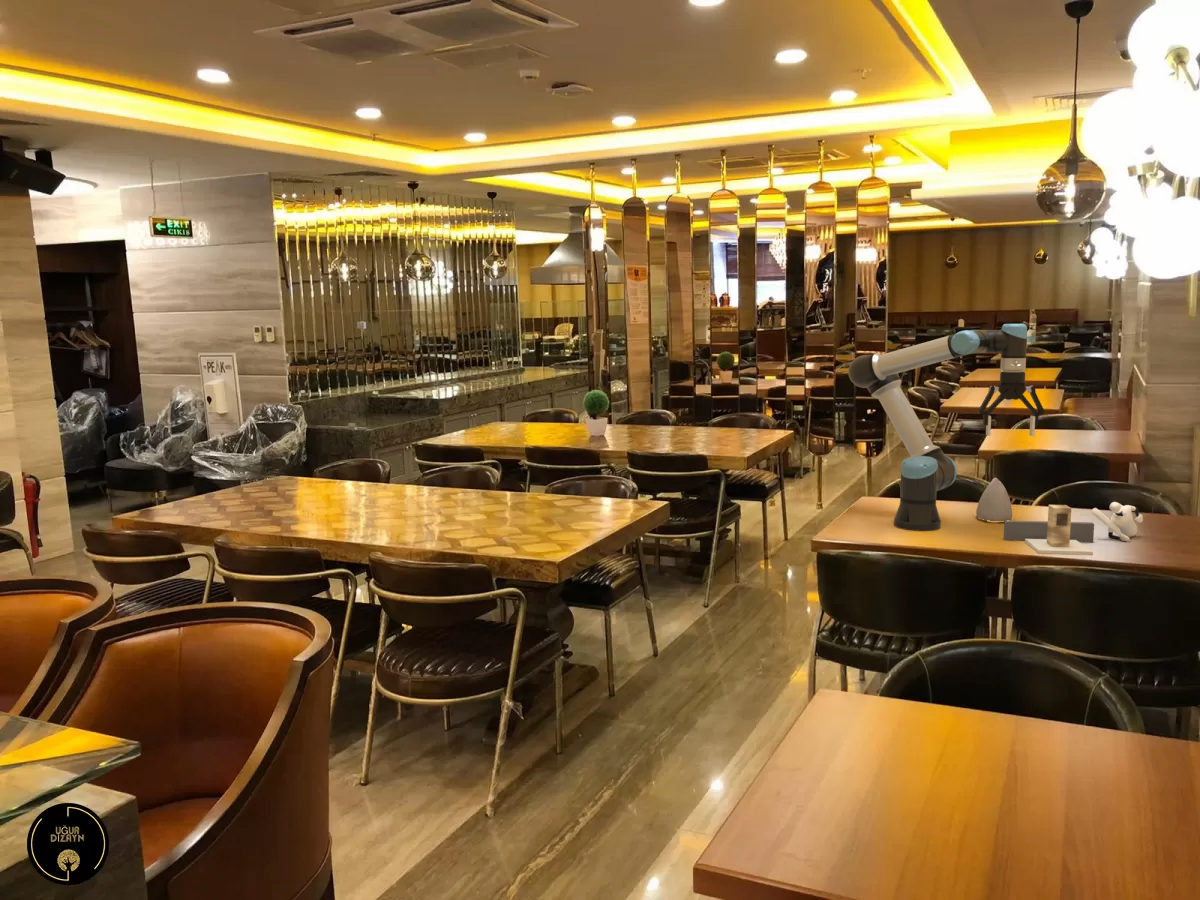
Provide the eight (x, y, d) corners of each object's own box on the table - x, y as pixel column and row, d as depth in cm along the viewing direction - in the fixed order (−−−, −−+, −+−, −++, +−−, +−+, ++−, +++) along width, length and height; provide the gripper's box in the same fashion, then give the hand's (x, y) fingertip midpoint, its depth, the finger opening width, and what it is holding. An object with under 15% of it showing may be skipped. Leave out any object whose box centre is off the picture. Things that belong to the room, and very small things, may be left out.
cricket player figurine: (1131, 554, 288) (1115, 527, 280) (1103, 539, 297) (1088, 513, 289) (1160, 525, 288) (1145, 497, 280) (1132, 512, 297) (1117, 484, 289)
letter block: (1051, 546, 276) (1053, 508, 275) (1046, 542, 282) (1048, 504, 280) (1069, 547, 276) (1071, 508, 274) (1064, 543, 281) (1066, 505, 279)
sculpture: (1020, 522, 316) (1022, 479, 313) (990, 524, 313) (992, 481, 311) (996, 515, 328) (998, 474, 326) (967, 517, 325) (969, 475, 323)
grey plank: (1005, 540, 290) (1006, 521, 289) (1003, 538, 292) (1004, 520, 291) (1093, 542, 285) (1094, 523, 284) (1090, 540, 287) (1092, 522, 286)
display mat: (1038, 553, 273) (1039, 550, 273) (1024, 541, 287) (1025, 538, 287) (1092, 554, 270) (1092, 551, 270) (1075, 543, 285) (1076, 539, 285)
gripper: (975, 372, 296) (972, 436, 299) (1057, 371, 292) (1053, 437, 295) (970, 370, 303) (967, 433, 306) (1050, 370, 299) (1046, 434, 302)
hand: (1009, 435), depth 300 cm, fingers open, 13 cm apart
